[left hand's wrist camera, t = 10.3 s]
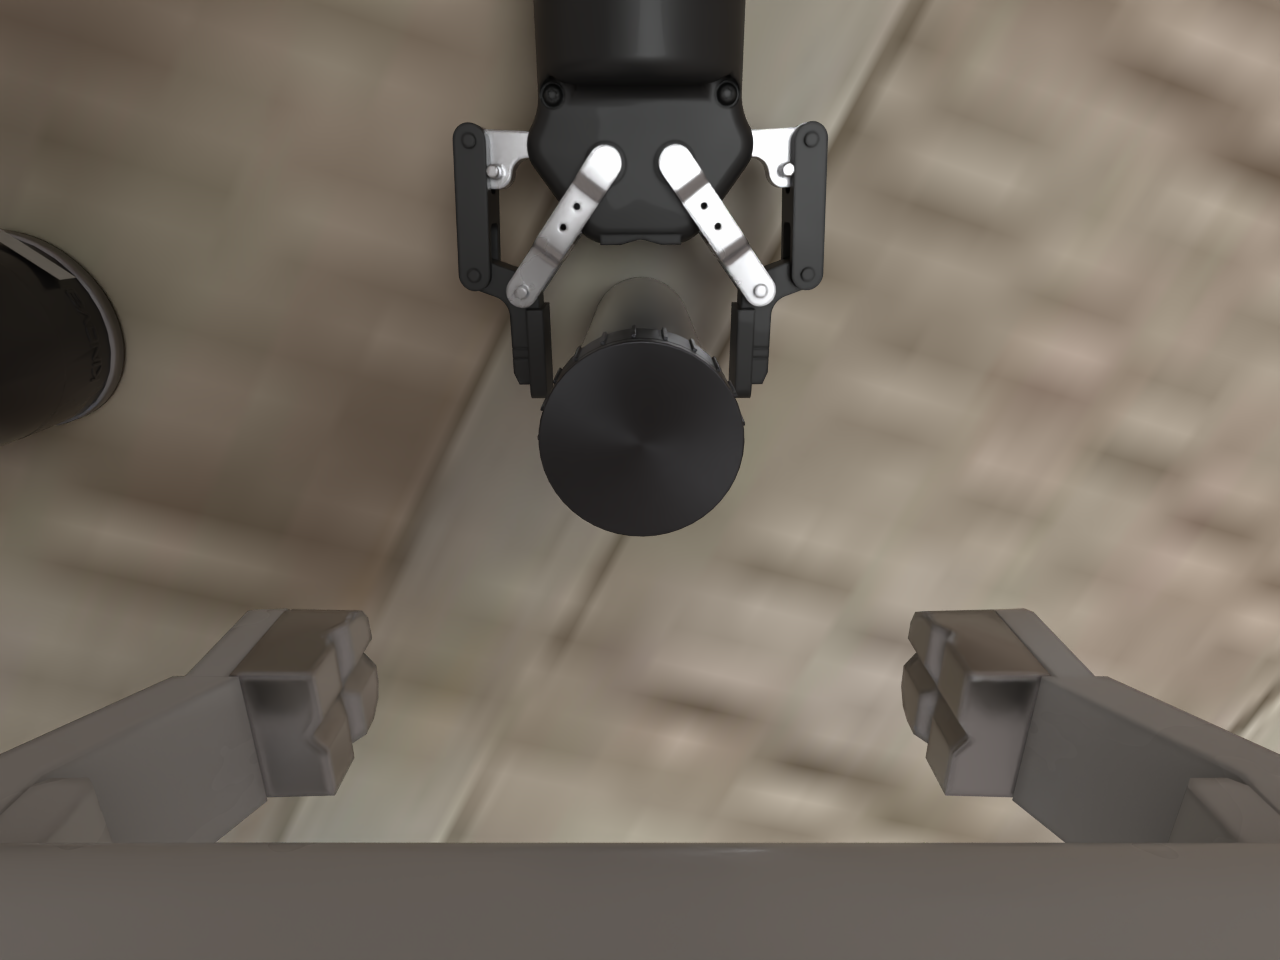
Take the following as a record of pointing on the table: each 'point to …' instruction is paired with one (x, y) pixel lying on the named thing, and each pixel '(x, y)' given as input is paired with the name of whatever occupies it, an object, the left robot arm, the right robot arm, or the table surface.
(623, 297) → the dark gray cylinder
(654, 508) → the lid
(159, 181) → the table surface
